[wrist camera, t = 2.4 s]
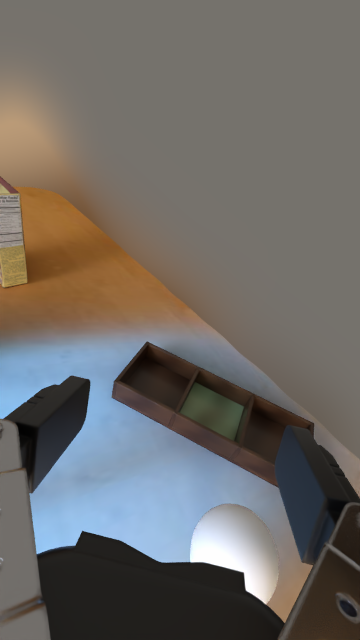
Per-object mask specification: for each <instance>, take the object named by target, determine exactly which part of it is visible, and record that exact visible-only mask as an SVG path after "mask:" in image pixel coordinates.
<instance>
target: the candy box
mask: <svg viewBox="0 0 360 640" xmlns="http://www.w3.org/2000/svg"><path fill="white" fill-rule="evenodd" d="M0 283H1V285H2V286H3V288H6V287H10V286H15V285H20V284H24V283H27V271H26V258H25V245H24V234H23V222H22V210H21V198H20V193H19V192H18V191H16V190H15V189H14V188H13V187H12V186H11V185H10V184H8V183H7V182H6V181H5V180H4V179H3V178H1V177H0Z"/></svg>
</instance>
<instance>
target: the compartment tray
mask: <svg viewBox="0 0 360 640" xmlns="http://www.w3.org/2000/svg"><path fill="white" fill-rule="evenodd" d="M112 398H114V399H116V400H117V401H119V402H121V403H123V404H125V405H127V406H129V407H130V408H132V409H134V410H136V411H138V412H140V413H141V414H143V415H145V416H147V417H149V418H151V419H153V420H154V421H156V422H158V423H160V424H162V425H164V426H166V427H167V428H169V429H171V430H173V431H175V432H177V433H178V434H180V435H182V436H184V437H186V438H188V439H190V440H191V441H193V442H195V443H197V444H199V445H201V446H203V447H204V448H206V449H208V450H210V451H212V452H214V453H216V454H217V455H219V456H221V457H223V458H225V459H227V460H228V461H230V462H232V463H234V464H236V465H238V466H240V467H241V468H243V469H245V470H247V471H249V472H251V473H253V474H254V475H256V476H258V477H260V478H262V479H264V480H265V481H267V482H269V483H271V484H273V485H275V486H277V487H278V484H277V480H276V477H275V460H276V456H277V453H278V450H279V446H280V443H281V440H282V437H283V433H284V430H285V428H286V426H287V425H291V426H296V427H300V428H305V429H308V430H309V431H310V433H311V434H312V436H313V438H314V423H312V422H310V421H308V420H306V419H304V418H302V417H300V416H298V415H296V414H294V413H292V412H290V411H288V410H286V409H284V408H282V407H280V406H278V405H275V404H273V403H271V402H269V401H267V400H265V399H263V398H261V397H259V396H257V395H255V394H253V393H251V392H249V391H247V390H245V389H243V388H241V387H239V386H237V385H235V384H233V383H231V382H229V381H227V380H225V379H223V378H221V377H218V376H216V375H214V374H212V373H210V372H208V371H206V370H204V369H202V368H200V367H198V366H196V365H194V364H192V363H190V362H188V361H186V360H184V359H182V358H180V357H178V356H176V355H174V354H172V353H170V352H168V351H166V350H164V349H161V348H159V347H157V346H155V345H153V344H151V343H149V342H146V343H145V344H144V346H143V347H142V348H141V349H140V351H139V352H138V353H137V354H136V355H135V357H134V358H133V359H132V360H131V361H130V363H129V364H128V365H127V366H126V367H125V369H124V370H123V371H122V372H121V373H120V375H119V376H118V377H117V378H116V380H115V381H114V385H113V391H112ZM278 488H279V487H278Z"/></svg>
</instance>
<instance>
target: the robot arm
mask: <svg viewBox="0 0 360 640" xmlns="http://www.w3.org/2000/svg"><path fill="white" fill-rule="evenodd" d="M89 391H90V380H89V379H84V378H80V377H76V376H70V377H69V378H67V379H66V380H65V381H64V382H62V383H61V384H60V385H52V386H49V387H46V388H44V389H42V390H40V391H39V392H38V393H36V394H35V395H34V397H31V398H30V399H29V400H27V402H25V403H23V404H22V405H21V406H20V407H18V408H17V409H16V410H14V411H13V412H12V413H10V414H9V415H8V416H6V417H5V418H4V419H0V640H360V498H359V497H358V495H357V493H356V492H355V490H354V489H353V487H352V486H351V484H350V482H349V481H348V479H347V478H346V477H345V475H344V473H343V471H342V470H341V469H340V468H339V465H338V464H337V462H336V460H335V459H334V457H333V456H332V455H331V454H330V453H329V452H328V451H327V450H326V449H324V448H323V447H322V446H321V445H318V444H317V443H316V441H315V439H314V438H313V436H312V434H311V433H310V431H309V430H308V429H305V428H300V427H296V426H291V425H287V426H286V428H285V430H284V433H283V437H282V440H281V443H280V446H279V450H278V453H277V456H276V460H275V477H276V480H277V484H278V487H279V490H280V493H281V497H282V500H283V503H284V506H285V509H286V513H287V516H288V519H289V522H290V526H291V529H292V532H293V535H294V539H295V542H296V545H297V548H298V551H299V555H300V558H301V561H302V562H303V563H307V564H310V565H313V567H312V569H311V571H310V573H309V575H308V577H307V580H306V582H305V584H304V586H303V588H302V590H301V592H300V594H299V596H298V598H297V600H296V602H295V604H294V606H293V608H292V610H291V612H290V614H289V616H288V618H287V620H286V622H285V623H284V622H283V621H282V620H281V618H280V617H279V616H278V615H277V614H276V613H275V612H274V611H273V610H272V609H271V608H270V607H268V606H267V605H266V604H265V603H264V602H263V601H261V600H260V599H259V598H257V597H256V596H254V595H253V594H251V593H250V592H248V591H246V587H245V578H244V572H241V571H237V570H233V569H229V568H225V567H221V566H217V565H213V564H209V563H205V562H176V563H161V562H158V561H156V560H154V559H152V558H150V557H149V556H147V555H145V554H143V553H142V552H140V551H138V550H136V549H135V548H133V547H131V546H129V545H127V544H126V543H124V542H122V541H119V540H116V539H112V538H108V537H104V536H100V535H96V534H92V533H88V532H84V531H82V533H81V535H80V537H79V539H78V541H77V543H76V546H66V547H59V548H55V549H51V550H47V551H45V552H42V553H39V554H36V546H35V538H34V529H33V521H32V513H31V504H30V496H29V493H33V492H34V490H35V489H36V488H37V486H38V485H39V484H40V483H41V481H42V480H43V479H44V477H45V476H46V475H47V473H48V472H49V471H50V469H51V468H52V467H53V465H54V464H55V463H56V462H57V460H58V459H59V458H60V456H61V455H62V454H63V452H64V451H65V450H66V448H67V447H68V446H69V444H70V443H71V442H72V441H73V439H74V438H75V437H76V435H77V434H78V433H79V431H80V430H81V428H82V426H83V424H84V421H85V418H86V413H87V406H88V399H89Z"/></svg>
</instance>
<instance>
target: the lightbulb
mask: <svg viewBox="0 0 360 640" xmlns="http://www.w3.org/2000/svg"><path fill="white" fill-rule="evenodd" d="M190 562H205V563H209V564H213V565H217V566H221V567H225V568H229V569H233V570H237V571H241V572H244V578H245V587H246V591H248V592H250V593H251V594H253V595H254V596H256V597H257V598H259V599H260V600H261V601H263V602H264V603H265V604H267V603H268V602H269V600H270V599H271V597H272V595H273V593H274V591H275V588H276V585H277V581H278V576H279V557H278V552H277V547H276V545H275V542H274V539H273V537H272V535H271V533H270V531H269V529H268V528H267V526H266V525H265V523H264V522H263V521H262V520H261V519H260V518H259V517H258V515H256V514H255V513H254V512H252V511H251V510H249V509H248V508H246V507H243V506H240V505H236V504H223V505H219V506H217V507H214V508H212V509H210V510H209V511H208V512H206V513H205V515H204V516H203V517H202V518H201V519H200V521H199V522H198V524H197V526H196V528H195V530H194V533H193V536H192V541H191V549H190Z"/></svg>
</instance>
